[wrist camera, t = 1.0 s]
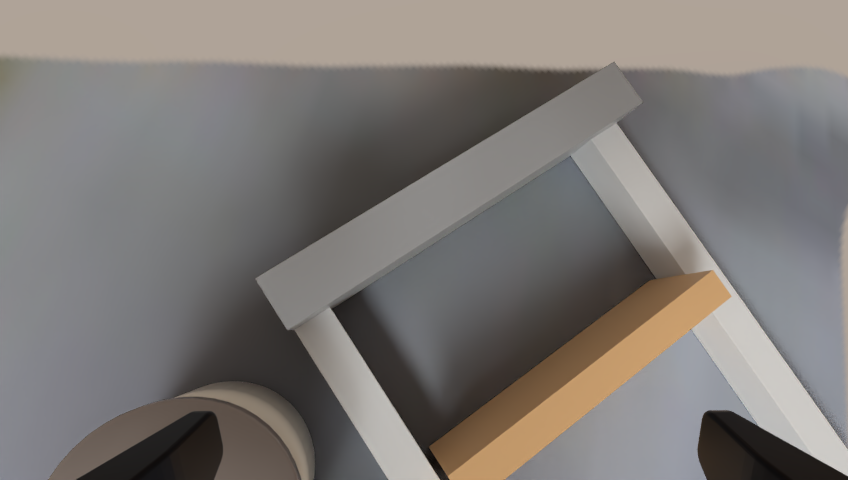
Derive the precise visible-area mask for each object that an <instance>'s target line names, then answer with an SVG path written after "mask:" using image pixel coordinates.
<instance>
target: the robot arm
mask: <svg viewBox="0 0 848 480" xmlns="http://www.w3.org/2000/svg"><path fill="white" fill-rule="evenodd" d="M222 457H223V442H222V437H221V433H220V428H219V423H218V419H217V416H216V414H215V413H214V412H212V411H192V412H190V413H188V414H186V415H185V416H183V417H181V418H180V419H178V420H176V421H174V422H173V423H171V424H169V425H168V426H166V427H164V428H163V429H161V430H159V431H157V432H156V433H154V434H152V435H151V436H149V437H147V438H146V439H144V440H142V441H140V442H139V443H137V444H135V445H134V446H132V447H130V448H129V449H127V450H125V451H123V452H122V453H120V454H118V455H117V456H115V457H113V458H111V459H110V460H108V461H106V462H105V463H103V464H101V465H100V466H98V467H96V468H94V469H93V470H91V471H89V472H88V473H86V474H84V475H83V476H81V477H79V478H77V479H76V480H214V479H215V476H216V474H217V471H218V468H219V466H220V463H221V460H222ZM698 458H699V461H700V464H701V467H702V469H703V471H704V474H705V476H706V479H707V480H848V476H847V475H845V474H843V473H841V472H839V471H838V470H836V469H834V468H832V467H831V466H829V465H827V464H825V463H823V462H822V461H820V460H818V459H816V458H814V457H813V456H811V455H809V454H807V453H805V452H804V451H802V450H800V449H798V448H797V447H795V446H793V445H791V444H789V443H788V442H786V441H784V440H782V439H780V438H779V437H777V436H775V435H773V434H771V433H770V432H768V431H766V430H764V429H763V428H761V427H759V426H757V425H755V424H754V423H752V422H750V421H748V420H746V419H745V418H743V417H741V416H739V415H737V414H736V413H734V412H732V411H728V410H709V411H707V412H705V413H704V415H703V418H702V423H701V429H700V436H699V442H698Z"/></svg>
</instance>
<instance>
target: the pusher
mask: <svg viewBox="0 0 848 480" xmlns="http://www.w3.org/2000/svg"><path fill="white" fill-rule="evenodd" d="M731 297H732V296H731V295H730V293H729V292H728V290H727V289H726V288H725V286H724V285H723V283H722V282H721V280H720V279H719V278H718V276H717V275H716V273H715V272H714V271H713V270H709V271H703V272H697V273H691V274H684V275H678V276H672V277H666V278H660V279H654V280H649V281H648V282H647V283H645V284H644V285H643V286H641V287H640V288H639V289H638V290H636V291H635V292H634V293H632V294H631V295H630V296H628V297H627V298H626V299H624V300H623V301H622V302H620V303H619V304H618V305H616V306H615V307H614V308H612V309H611V310H610V311H608V312H607V313H606V314H604V315H603V316H602V317H600V318H599V319H598V320H596V321H595V322H594V323H592V324H591V325H590V326H588V327H587V328H586V329H584V330H583V331H582V332H580V333H579V334H578V335H576V336H575V337H574V338H572V339H571V340H570V341H569V342H567V343H566V344H565V345H563V346H562V347H561V348H559V349H558V350H557V351H555V352H554V353H553V354H551V355H550V356H549V357H547V358H546V359H545V360H543V361H542V362H541V363H539V364H538V365H537V366H535V367H534V368H533V369H531V370H530V371H529V372H527V373H526V374H525V375H523V376H522V377H521V378H519V379H518V380H517V381H515V382H514V383H513V384H511V385H510V386H509V387H507V388H506V389H505V390H503V391H502V392H501V393H500V394H498V395H497V396H496V397H494V398H493V399H492V400H490V401H489V402H488V403H486V404H485V405H484V406H482V407H481V408H480V409H478V410H477V411H476V412H474V413H473V414H472V415H470V416H469V417H468V418H466V419H465V420H464V421H462V422H461V423H460V424H458V425H457V426H456V427H454V428H453V429H452V430H450V431H449V432H448V433H446V434H445V435H444V436H442V437H441V438H440V439H438V440H437V441H436V442H434V443H433V444H432V445H431V446H429V448H430V450H431V451H432V453H433V454H434V456H435V458H436V459H437V461H438V462H439V464H440V465H441V467H442V469H443V470H444V472H445V473H446V475H447V476H448V478H449V479H450V480H504V479H506V478H507V477H508V476H509V475H511V474H512V473H513V472H514V471H516V470H517V469H518V468H519V467H521V466H522V465H523V464H524V463H526V462H527V461H528V460H529V459H530V458H532V457H533V456H534V455H535V454H537V453H538V452H539V451H540V450H542V449H543V448H544V447H545V446H547V445H548V444H549V443H550V442H552V441H553V440H554V439H555V438H557V437H558V436H559V435H560V434H562V433H563V432H564V431H565V430H567V429H568V428H569V427H570V426H571V425H573V424H574V423H575V422H576V421H578V420H579V419H580V418H581V417H583V416H584V415H585V414H586V413H588V412H589V411H590V410H591V409H593V408H594V407H595V406H596V405H598V404H599V403H600V402H601V401H603V400H604V399H605V398H606V397H608V396H609V395H610V394H611V393H612V392H614V391H615V390H616V389H617V388H619V387H620V386H621V385H622V384H624V383H625V382H626V381H627V380H629V379H630V378H631V377H632V376H634V375H635V374H636V373H637V372H639V371H640V370H641V369H642V368H644V367H645V366H646V365H647V364H649V363H650V362H651V361H652V360H653V359H655V358H656V357H657V356H658V355H660V354H661V353H662V352H663V351H665V350H666V349H667V348H668V347H670V346H671V345H672V344H673V343H675V342H676V341H677V340H678V339H680V338H681V337H682V336H683V335H685V334H686V333H687V332H688V331H690V330H691V329H692V328H693V327H694V326H696V325H697V324H698V323H699V322H701V321H702V320H703V319H704V318H706V317H707V316H708V315H709V314H711V313H712V312H713V311H714V310H716V309H717V308H718V307H719V306H721V305H722V304H723V303H724V302H726V301H727V300H728V299H729V298H731Z"/></svg>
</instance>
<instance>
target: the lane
mask: <svg viewBox="0 0 848 480" xmlns="http://www.w3.org/2000/svg"><path fill="white" fill-rule="evenodd" d="M642 103H643V101H642V100H641V98H640V97H639V96H638V94H637V93H636V91H635V90H634V89H633V87H632V86H631V84H630V83H629V82H628V80H627V79H626V77H625V76H624V75H623V73H622V72H621V70H620V69H619V68H618V66H617V65H616V63H615V62H613V63H611V64H610V65H608V66H606V67H604V68H603V69H601V70H600V71H598V72H596V73H595V74H593V75H591V76H590V77H588V78H586V79H585V80H583V81H581V82H580V83H578V84H576V85H575V86H573V87H571V88H570V89H568V90H566V91H565V92H563V93H561V94H560V95H558V96H556V97H555V98H553V99H551V100H550V101H548V102H547V103H545V104H543V105H542V106H540V107H538V108H537V109H535V110H533V111H532V112H530V113H528V114H527V115H525V116H523V117H522V118H520V119H518V120H517V121H515V122H513V123H512V124H510V125H508V126H507V127H505V128H503V129H502V130H500V131H498V132H497V133H495V134H494V135H492V136H490V137H489V138H487V139H485V140H484V141H482V142H480V143H479V144H477V145H475V146H474V147H472V148H470V149H469V150H467V151H465V152H464V153H462V154H460V155H459V156H457V157H455V158H454V159H452V160H450V161H449V162H447V163H445V164H444V165H442V166H441V167H439V168H437V169H436V170H434V171H432V172H431V173H429V174H427V175H426V176H424V177H422V178H421V179H419V180H417V181H416V182H414V183H412V184H411V185H409V186H407V187H406V188H404V189H402V190H401V191H399V192H397V193H396V194H394V195H392V196H391V197H389V198H388V199H386V200H384V201H383V202H381V203H379V204H378V205H376V206H374V207H373V208H371V209H369V210H368V211H366V212H364V213H363V214H361V215H359V216H358V217H356V218H354V219H353V220H351V221H349V222H348V223H346V224H344V225H343V226H341V227H339V228H338V229H336V230H335V231H333V232H331V233H330V234H328V235H326V236H325V237H323V238H321V239H320V240H318V241H316V242H315V243H313V244H311V245H310V246H308V247H306V248H305V249H303V250H301V251H300V252H298V253H296V254H295V255H293V256H291V257H290V258H288V259H286V260H285V261H283V262H282V263H280V264H278V265H277V266H275V267H273V268H272V269H270V270H268V271H267V272H265V273H263V274H262V275H260V276H258V277H257V278H255V280H256V281H257V283H258V284H259V286H260V287H261V289H262V291H263V292H264V294H265V295H266V297H267V299H268V300H269V302H270V303H271V305H272V307H273V308H274V310H275V311H276V313H277V315H278V316H279V318H280V319H281V321H282V323H283V324H284V326H285V327H286V329H287V330H295V332H296V333H297V335H298V337H299V338H300V340H301V341H302V343H303V345H304V346H305V348H306V349H307V351H308V353H309V354H310V356H311V357H312V359H313V361H314V362H315V364H316V365H317V367H318V368H319V370H320V372H321V373H322V375H323V376H324V378H325V380H326V381H327V383H328V384H329V386H330V388H331V389H332V391H333V392H334V394H335V396H336V397H337V399H338V400H339V402H340V403H341V405H342V407H343V408H344V410H345V411H346V413H347V415H348V416H349V418H350V419H351V421H352V423H353V424H354V426H355V427H356V429H357V431H358V432H359V434H360V435H361V437H362V438H363V440H364V442H365V443H366V445H367V446H368V448H369V450H370V451H371V453H372V454H373V456H374V458H375V459H376V461H377V462H378V464H379V465H380V467H381V469H382V470H383V472H384V473H385V475H386V477H387V478H388V480H440V478H439V477H438V475H437V473H436V472H435V470H434V469H433V467H432V466H431V464H430V462H429V461H428V459H427V458H426V456H425V455H424V453H423V451H422V450H421V448H420V447H419V445H418V444H417V442H416V440H415V439H414V437H413V436H412V434H411V433H410V431H409V429H408V428H407V426H406V425H405V423H404V422H403V420H402V418H401V417H400V415H399V414H398V412H397V411H396V409H395V408H394V406H393V404H392V403H391V401H390V400H389V398H388V397H387V395H386V393H385V392H384V390H383V389H382V387H381V386H380V384H379V382H378V381H377V379H376V378H375V376H374V375H373V373H372V371H371V370H370V368H369V367H368V365H367V364H366V362H365V360H364V359H363V357H362V356H361V354H360V353H359V351H358V349H357V348H356V346H355V345H354V343H353V342H352V340H351V338H350V337H349V335H348V334H347V332H346V331H345V329H344V327H343V326H342V324H341V323H340V321H339V320H338V318H337V317H336V315H335V313H334V312H333V310H332V309H333V308H334V307H336V306H338V305H339V304H341V303H342V302H344V301H345V300H347V299H348V298H350V297H352V296H353V295H355V294H356V293H358V292H359V291H361V290H362V289H364V288H366V287H367V286H369V285H370V284H372V283H373V282H375V281H376V280H378V279H380V278H381V277H383V276H384V275H386V274H387V273H389V272H390V271H392V270H393V269H395V268H397V267H398V266H400V265H401V264H403V263H404V262H406V261H407V260H409V259H411V258H412V257H414V256H415V255H417V254H418V253H420V252H421V251H423V250H425V249H426V248H428V247H429V246H431V245H432V244H434V243H435V242H437V241H439V240H440V239H442V238H443V237H445V236H446V235H448V234H449V233H451V232H452V231H454V230H456V229H457V228H459V227H460V226H462V225H463V224H465V223H466V222H468V221H470V220H471V219H473V218H474V217H476V216H477V215H479V214H480V213H482V212H484V211H485V210H487V209H488V208H490V207H491V206H493V205H494V204H496V203H498V202H499V201H501V200H502V199H504V198H505V197H507V196H508V195H510V194H512V193H513V192H515V191H516V190H518V189H519V188H521V187H522V186H524V185H525V184H527V183H529V182H530V181H532V180H533V179H535V178H536V177H538V176H539V175H541V174H543V173H544V172H546V171H547V170H549V169H550V168H552V167H553V166H555V165H557V164H558V163H560V162H561V161H563V160H564V159H566V158H567V157H569V156H571V157H572V158H573V160H574V161H575V163H576V164H577V166H578V167H579V168H580V170H581V171H582V173H583V174H584V176H585V177H586V179H587V180H588V181H589V183H590V184H591V186H592V187H593V189H594V190H595V191H596V193H597V194H598V196H599V197H600V199H601V200H602V202H603V203H604V204H605V206H606V207H607V209H608V210H609V212H610V213H611V214H612V216H613V217H614V219H615V220H616V222H617V223H618V225H619V226H620V227H621V229H622V230H623V232H624V233H625V235H626V236H627V237H628V239H629V240H630V242H631V243H632V245H633V246H634V248H635V249H636V250H637V252H638V253H639V255H640V256H641V258H642V259H643V260H644V262H645V263H646V265H647V266H648V268H649V269H650V271H651V272H652V273H653V275H654V276H655V278H656V279H660V278H666V277H672V276H678V275H684V274H691V273H697V272H703V271H709V270H713V271H714V272H715V273H716V275H717V276H718V278H719V279H720V280H721V282H722V283H723V285H724V286H725V288H726V289H727V290H728V292H729V293H730V295H731V296H732V297H731V298H729V299H728V300H727V301H726V302H724V303H723V304H722V305H721V306H719V307H718V308H717V309H716V310H714V311H713V312H712V313H711V314H709V315H708V316H707V317H706V318H704V319H703V320H702V321H701V322H699V323H698V324H697V325H696V326H694V327H693V328H692V331H693V332H694V334H695V335H696V337H697V338H698V340H699V341H700V342H701V344H702V345H703V347H704V348H705V350H706V351H707V352H708V354H709V355H710V357H711V358H712V360H713V361H714V363H715V364H716V365H717V367H718V368H719V370H720V371H721V373H722V374H723V375H724V377H725V378H726V380H727V381H728V383H729V384H730V386H731V387H732V388H733V390H734V391H735V393H736V394H737V396H738V397H739V398H740V400H741V401H742V403H743V404H744V406H745V407H746V409H747V410H748V411H749V413H750V414H751V416H752V417H753V419H754V420H755V421H756V423H757V424H758V426H759V427H761V428H763V429H764V430H766V431H768V432H770V433H771V434H773V435H775V436H777V437H779V438H780V439H782V440H784V441H786V442H788V443H789V444H791V445H793V446H795V447H797V448H798V449H800V450H802V451H804V452H805V453H807V454H809V455H811V456H813V457H814V458H816V459H818V460H820V461H822V462H823V463H825V464H827V465H829V466H831V467H832V468H834V469H836V470H838V471H839V472H841V473H843V474H845V475H847V476H848V449H847V448H846V447H845V445H844V444H843V442H842V441H841V439H840V438H839V437H838V435H837V434H836V432H835V431H834V430H833V428H832V427H831V425H830V424H829V423H828V421H827V420H826V418H825V417H824V415H823V414H822V413H821V411H820V410H819V408H818V407H817V406H816V404H815V403H814V401H813V400H812V399H811V397H810V396H809V394H808V393H807V391H806V390H805V389H804V387H803V386H802V384H801V383H800V382H799V380H798V379H797V377H796V376H795V374H794V373H793V372H792V370H791V369H790V367H789V366H788V365H787V363H786V362H785V360H784V359H783V358H782V356H781V355H780V353H779V352H778V350H777V349H776V348H775V346H774V345H773V343H772V342H771V341H770V339H769V338H768V336H767V335H766V334H765V332H764V331H763V329H762V328H761V326H760V325H759V324H758V322H757V321H756V319H755V318H754V317H753V315H752V314H751V312H750V311H749V309H748V308H747V307H746V305H745V304H744V302H743V301H742V300H741V298H740V297H739V295H738V294H737V293H736V291H735V290H734V288H733V287H732V285H731V284H730V283H729V281H728V280H727V278H726V277H725V276H724V274H723V273H722V271H721V270H720V269H719V267H718V266H717V264H716V263H715V261H714V260H713V259H712V257H711V256H710V254H709V253H708V252H707V250H706V249H705V247H704V246H703V244H702V243H701V242H700V240H699V239H698V237H697V236H696V235H695V233H694V232H693V230H692V229H691V228H690V226H689V225H688V223H687V222H686V220H685V219H684V218H683V216H682V215H681V213H680V212H679V211H678V209H677V208H676V206H675V205H674V204H673V202H672V201H671V199H670V198H669V196H668V195H667V194H666V192H665V191H664V189H663V188H662V187H661V185H660V184H659V182H658V181H657V179H656V178H655V177H654V175H653V174H652V172H651V171H650V170H649V168H648V167H647V165H646V164H645V163H644V161H643V160H642V158H641V157H640V155H639V154H638V153H637V151H636V150H635V148H634V147H633V146H632V144H631V143H630V141H629V140H628V139H627V137H626V136H625V134H624V133H623V131H622V130H621V129H620V127H619V126H618V124H617V122H618V121H620V120H621V119H622V118H624V117H625V116H626V115H627V114H629V113H630V112H631V111H633V110H634V109H635V108H636V107H638V106H639V105H640V104H642Z"/></svg>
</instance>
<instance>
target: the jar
mask: <svg viewBox="0 0 848 480" xmlns="http://www.w3.org/2000/svg"><path fill="white" fill-rule="evenodd" d="M192 411H212V412H214V413H215V414H216V416H217V419H218V423H219V428H220V433H221V437H222V442H223V457H222V460H221V463H220V466H219V468H218V471H217V474H216V476H215V479H214V480H314V475H315V454H314V447H313V442H312V438H311V436H310V433H309V430H308V428H307V426H306V424H305V422H304V420H303V418H302V417H301V415H300V414H299V413H298V411H297V410H296V409H295V408H294V407H293V406H292V405H291V404H290V403H289V402H288V401H287V400H286V399H285V398H283V397H282V396H281V395H279V394H278V393H276V392H274V391H273V390H271V389H268V388H266V387H264V386H261V385H258V384H254V383H250V382H242V381H225V382H218V383H213V384H209V385H206V386H203V387H200V388H198V389H195V390H192V391H190V392H187V393H185V394H182V395H180V396H177V397H175V398H170V399H164V400H161V401H157V402H153V403H150V404H147V405H144V406H142V407H139V408H136V409H134V410H131V411H129V412H126V413H124V414H122V415H119V416H117V417H116V418H114V419H112V420H110V421H108V422H107V423H105V424H103V425H102V426H100V427H99V428H97V429H96V430H94V431H93V432H92V433H90V434H89V435H87V436H86V437H85V438H84V439H83V440H82V441H81V442H80V443H78V444H77V445H76V446H75V447H74V448H73V449H72V450H71V451H70V452H69V453H68V455H67V456H66V457H65V458H64V459H63V460H62V461H61V462H60V464H59V465H58V466H57V468H56V469H55V471H54V472H53V473H52V475H51V476H50V478H49V479H48V480H76V479H77V478H79V477H81V476H83V475H84V474H86V473H88V472H89V471H91V470H93V469H94V468H96V467H98V466H100V465H101V464H103V463H105V462H106V461H108V460H110V459H111V458H113V457H115V456H117V455H118V454H120V453H122V452H123V451H125V450H127V449H129V448H130V447H132V446H134V445H135V444H137V443H139V442H140V441H142V440H144V439H146V438H147V437H149V436H151V435H152V434H154V433H156V432H157V431H159V430H161V429H163V428H164V427H166V426H168V425H169V424H171V423H173V422H174V421H176V420H178V419H180V418H181V417H183V416H185V415H186V414H188V413H190V412H192Z"/></svg>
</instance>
